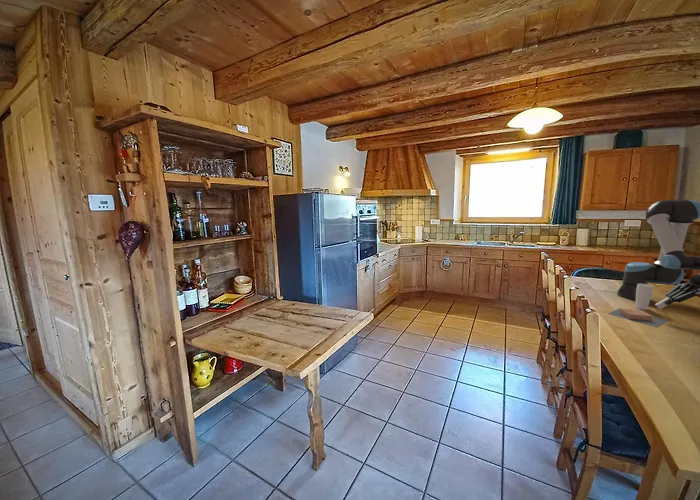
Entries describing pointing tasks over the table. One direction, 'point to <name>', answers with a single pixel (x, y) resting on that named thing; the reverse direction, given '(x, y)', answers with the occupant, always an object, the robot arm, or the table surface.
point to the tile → (636, 314)
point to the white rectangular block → (643, 296)
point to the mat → (655, 321)
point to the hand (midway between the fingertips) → (657, 306)
